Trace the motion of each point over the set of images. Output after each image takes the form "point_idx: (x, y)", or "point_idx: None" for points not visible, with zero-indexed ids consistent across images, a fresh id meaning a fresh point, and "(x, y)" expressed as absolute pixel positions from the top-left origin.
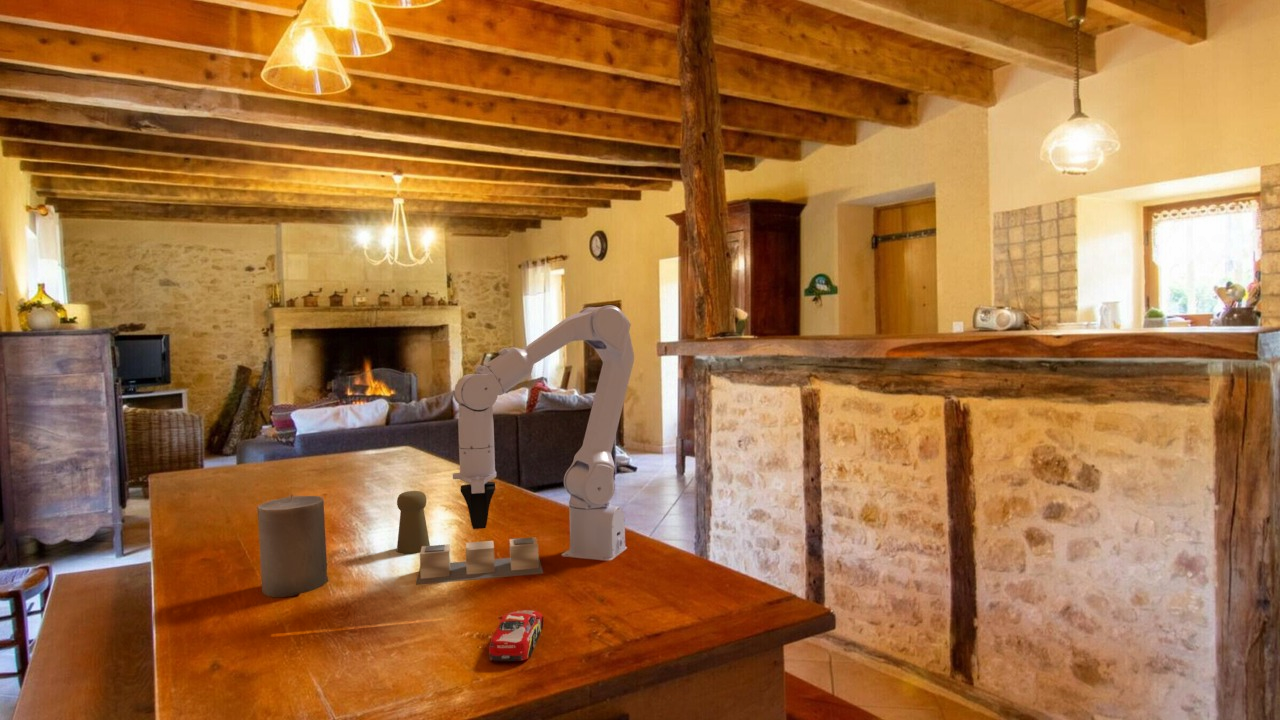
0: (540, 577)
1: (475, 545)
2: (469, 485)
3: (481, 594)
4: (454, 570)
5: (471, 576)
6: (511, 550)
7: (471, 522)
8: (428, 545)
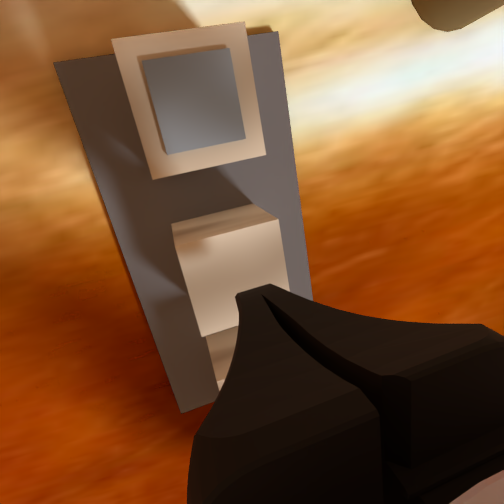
0: (167, 406)
1: (239, 264)
2: (473, 424)
3: (7, 308)
4: (212, 173)
5: (151, 244)
6: (215, 374)
7: (238, 304)
8: (456, 19)
